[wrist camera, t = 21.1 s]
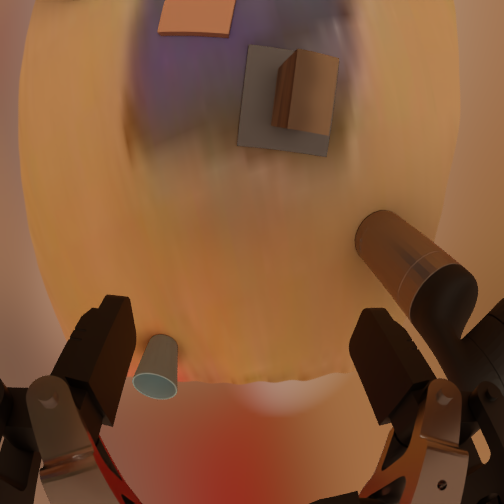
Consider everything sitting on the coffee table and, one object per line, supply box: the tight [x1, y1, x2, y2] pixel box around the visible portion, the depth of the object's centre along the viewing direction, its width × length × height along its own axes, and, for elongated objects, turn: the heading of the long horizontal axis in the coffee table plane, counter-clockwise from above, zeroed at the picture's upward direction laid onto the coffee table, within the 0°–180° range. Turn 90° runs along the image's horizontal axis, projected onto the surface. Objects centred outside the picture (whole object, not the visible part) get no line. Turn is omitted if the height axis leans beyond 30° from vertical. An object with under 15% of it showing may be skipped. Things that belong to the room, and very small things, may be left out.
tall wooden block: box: [271, 49, 339, 136], centre depth 27 cm, size 4×8×11 cm, turn 173°
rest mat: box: [237, 45, 339, 157], centre depth 32 cm, size 12×14×1 cm
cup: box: [132, 334, 178, 399], centre depth 45 cm, size 8×8×10 cm
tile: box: [157, 0, 236, 38], centre depth 24 cm, size 9×2×10 cm
